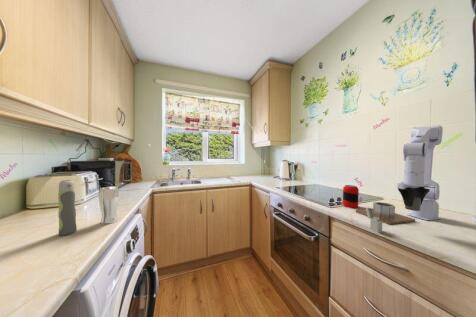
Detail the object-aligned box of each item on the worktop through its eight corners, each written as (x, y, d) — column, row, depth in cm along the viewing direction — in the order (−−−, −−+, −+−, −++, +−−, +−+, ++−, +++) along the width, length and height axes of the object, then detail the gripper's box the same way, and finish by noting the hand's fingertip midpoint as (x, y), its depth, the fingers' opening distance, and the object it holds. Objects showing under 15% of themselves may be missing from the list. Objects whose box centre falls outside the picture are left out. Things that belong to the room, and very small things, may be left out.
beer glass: (122, 220, 79) (122, 187, 78) (105, 225, 72) (104, 190, 72) (113, 217, 81) (112, 185, 81) (96, 222, 75) (95, 188, 75)
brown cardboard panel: (379, 210, 95) (379, 199, 95) (415, 221, 80) (415, 208, 79) (355, 212, 91) (356, 200, 91) (388, 224, 76) (388, 210, 76)
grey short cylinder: (410, 207, 73) (410, 195, 73) (423, 210, 69) (423, 198, 69) (402, 207, 72) (402, 195, 72) (415, 211, 68) (415, 198, 68)
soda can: (343, 203, 107) (343, 184, 106) (358, 205, 102) (358, 185, 102) (342, 206, 101) (342, 186, 100) (357, 209, 96) (358, 187, 96)
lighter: (382, 233, 68) (383, 212, 67) (377, 233, 68) (378, 212, 67) (368, 225, 75) (369, 207, 75) (364, 225, 75) (365, 207, 75)
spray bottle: (61, 237, 62) (59, 182, 62) (56, 234, 65) (55, 180, 64) (78, 231, 67) (77, 180, 66) (73, 229, 69) (72, 179, 68)
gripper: (415, 171, 76) (413, 201, 76) (389, 171, 72) (388, 203, 73) (436, 172, 69) (435, 206, 69) (410, 173, 65) (408, 209, 66)
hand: (412, 205), depth 71 cm, fingers closed on grey short cylinder, 4 cm apart
